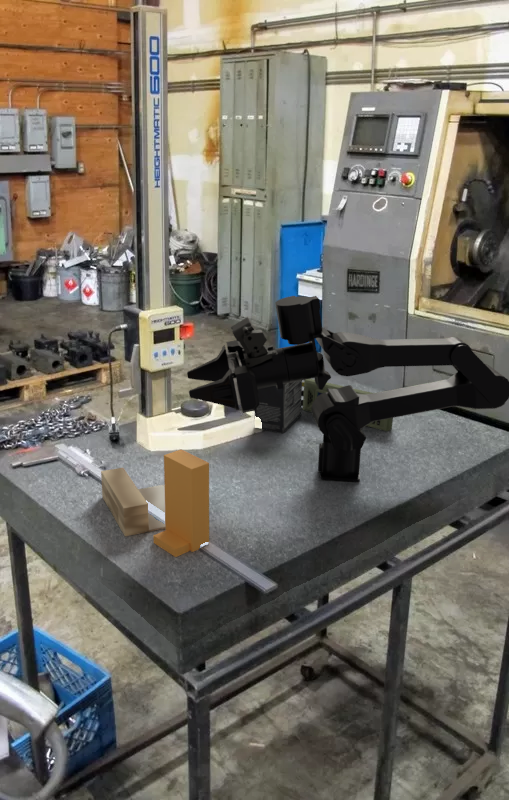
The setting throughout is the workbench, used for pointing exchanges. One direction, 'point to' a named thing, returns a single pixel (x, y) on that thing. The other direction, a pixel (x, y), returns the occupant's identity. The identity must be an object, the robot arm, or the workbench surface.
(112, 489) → the wooden block on plate
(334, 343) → the robot arm
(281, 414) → the small box
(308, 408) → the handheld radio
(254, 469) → the workbench surface
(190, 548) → the orange l-shaped bookend
